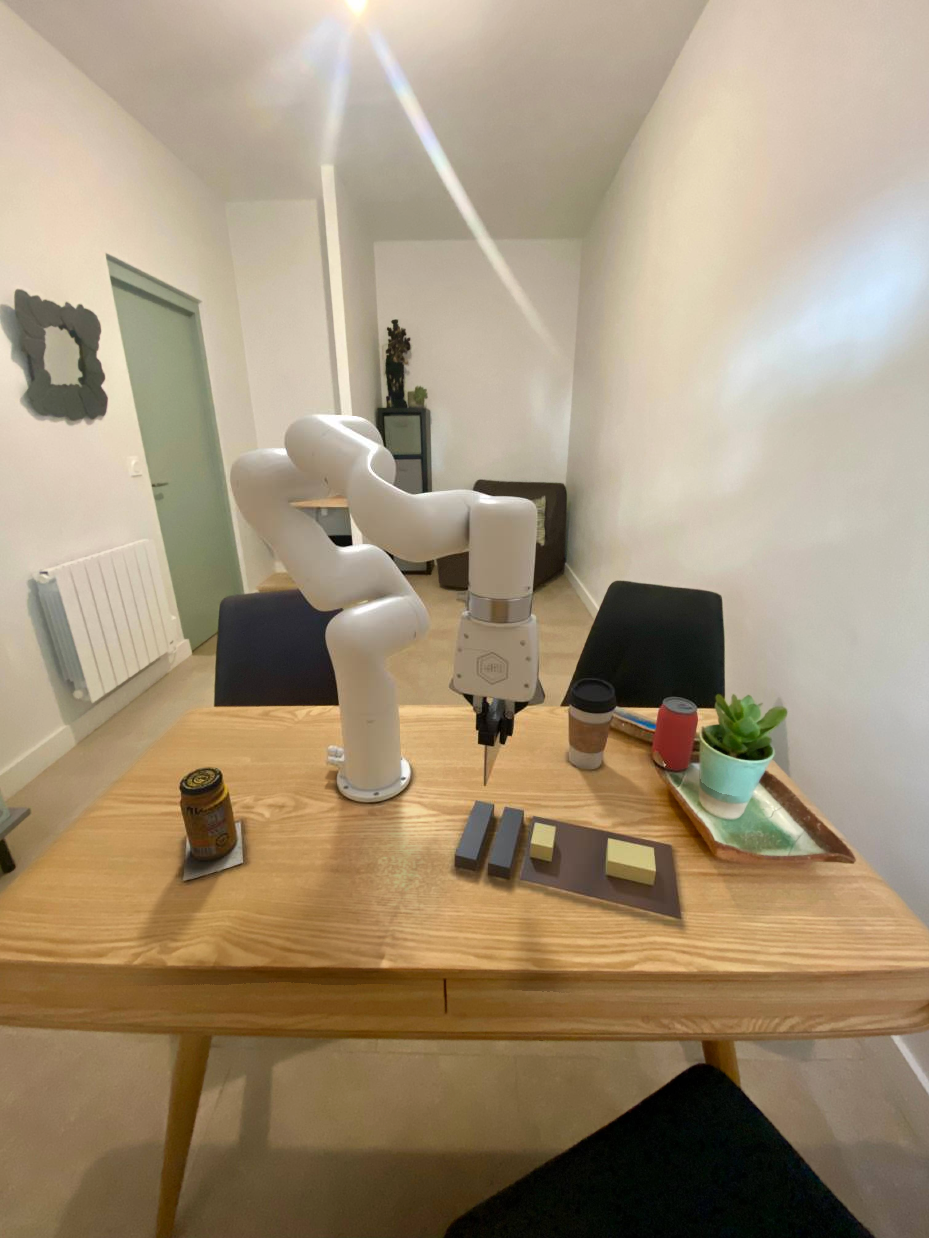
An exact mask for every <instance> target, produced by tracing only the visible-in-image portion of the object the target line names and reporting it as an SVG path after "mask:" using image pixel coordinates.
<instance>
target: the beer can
mask: <svg viewBox="0 0 929 1238" xmlns="http://www.w3.org/2000/svg"><path fill="white" fill-rule="evenodd" d="M698 714H699V713H698V707H697V705H696V704H695V703H694V702H692V701H691V700H689V699H687V698H684V697H678V696H670V697H666V698H664V699H663V700H662V704H661V705H660V706H659V708H658V711H657V716H656V723H655V729H654V732H653V740H652V745H651V752H650V758H651V759H652V761H653V762H654V758H653V752H654V751H655V750H656V751H658V753H659V755H661V757H662V759H663V761H664V763H665V764H666V766H665V768H664V770H667V771H673V772H679V771H680V772H681V771H684V770H685V769H688V768H689V765H690V762H691V758H692V753H693V748H694V742H695V738H696V734H697V728H698V724H699V715H698Z"/></svg>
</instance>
